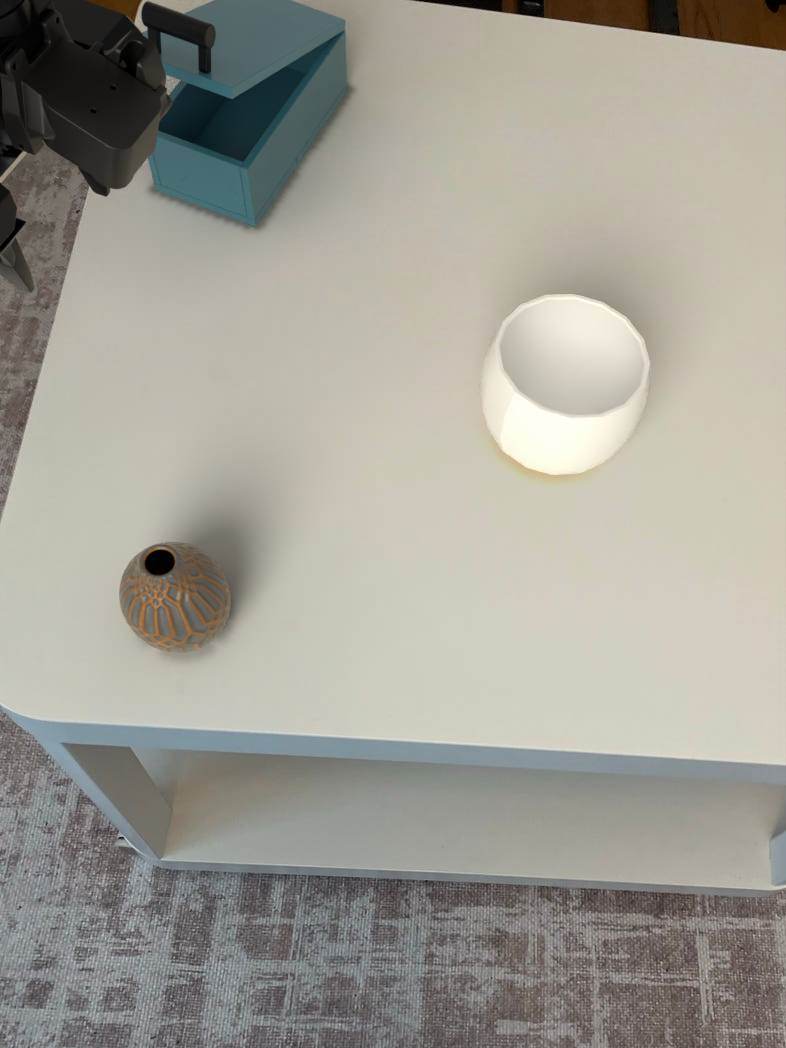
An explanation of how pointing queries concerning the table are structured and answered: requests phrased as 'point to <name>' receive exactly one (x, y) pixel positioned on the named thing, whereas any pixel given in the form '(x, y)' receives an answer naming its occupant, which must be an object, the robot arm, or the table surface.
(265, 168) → the teal rectangular box
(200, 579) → the vase
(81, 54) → the robot arm
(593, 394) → the cup
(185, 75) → the lid
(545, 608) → the table surface
